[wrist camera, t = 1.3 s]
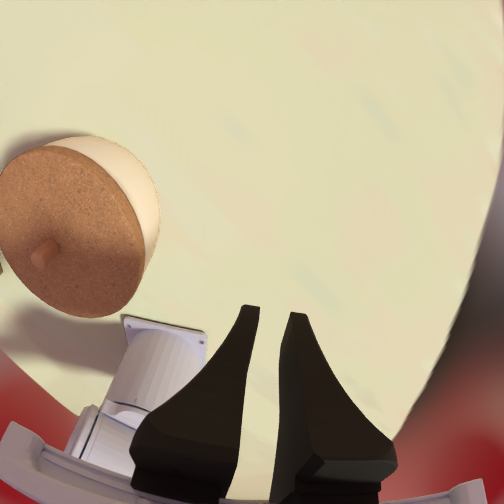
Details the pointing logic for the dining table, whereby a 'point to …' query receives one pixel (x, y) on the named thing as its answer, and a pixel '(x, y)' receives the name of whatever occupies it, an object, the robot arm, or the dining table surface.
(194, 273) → the dining table surface
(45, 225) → the lidded jar
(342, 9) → the dining table surface
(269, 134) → the dining table surface
